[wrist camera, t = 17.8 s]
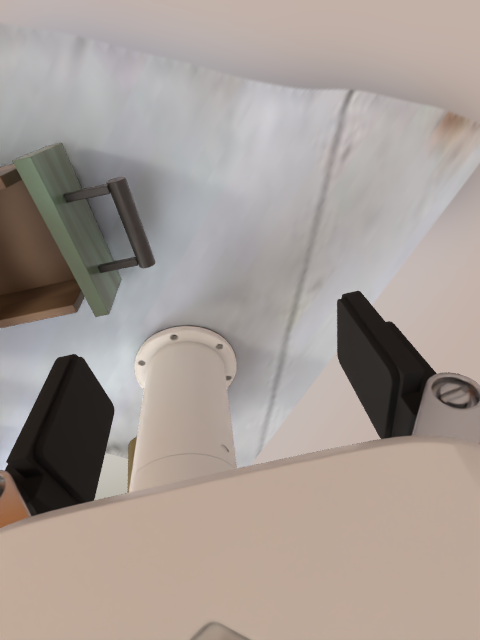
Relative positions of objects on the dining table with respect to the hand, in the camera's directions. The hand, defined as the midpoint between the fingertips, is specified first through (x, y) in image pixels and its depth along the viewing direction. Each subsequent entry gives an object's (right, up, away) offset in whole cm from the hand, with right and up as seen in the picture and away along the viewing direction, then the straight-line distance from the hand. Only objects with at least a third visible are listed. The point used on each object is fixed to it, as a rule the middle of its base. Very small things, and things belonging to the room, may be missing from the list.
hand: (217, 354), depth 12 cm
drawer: (-17, +9, +17) cm, 26 cm away
